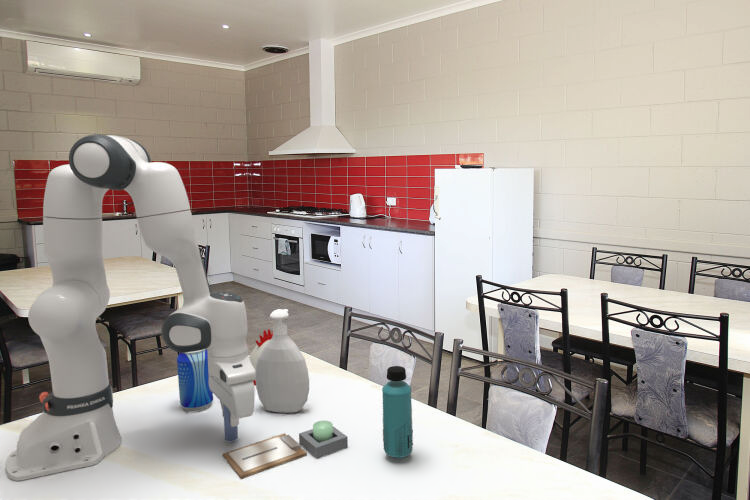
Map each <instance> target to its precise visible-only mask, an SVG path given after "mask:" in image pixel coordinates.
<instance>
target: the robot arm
mask: <svg viewBox="0 0 750 500" xmlns="http://www.w3.org/2000/svg"><path fill="white" fill-rule="evenodd" d="M181 177H182V176H181V175H180V172H179V171H178V169H177V168H176V167H175V166H173V165H172V164H170V163H168V162H162V161H153V162H152V158H151V156H150V154H149V152H148V150H147V149H146V148H145V146H144V145H142V144H140V143H139V142H138V141H136V140H134V139H130V138H127V137H124V136H121V135H116V134H108V135H107V134H103V133H102V134H101V133H93V134H89V135H86V136H84V137H81V138H79V139H78V140H77V141H75V142H74V144H73V146H71V148H70V150H69V154H68V164H62V165H59V166H57V167H55V168H53V169H51V171H50V172H49V173H48V176H47V180H46V183H45V190H44V196H43V209H42V211H43V212H42V213H43V214H42V216H43V217H42V222H43V223H42V233H43V234H42V237H43V238H42V239H43V240H42V242H43V243H42V244H43V246H42V247H43V248H42V249H43V254H44V257H45V258H46V259H47V261H48V265H49V267H50V268H49V269H50V271H51V277H52V285H51V286H50V287H49V288H47V289H45V290H44V291H42V292H40V294H39V295H38V296H37V297H36V298H35V300H34V301H33V303H32V304H31V306H30V307H29V310H28V314H27V315H28V316H27V319H28V323H29V326H30V327H31V329H32V331H33V332H34V333H35V334H36V335H37V336H39V338H40V340H41V343H42V345H43V347H44V350H45V353H46V356H47V360H48V364H49V370H50V371H49V372H50V380H51V387H52V392H51V393H49V391H43V392H41V393H40V395H39V397H38V398H39V402H40V403H42V408H43V412H42V413H41V414H39V415H38V416H37V417H36V418H35V419H34V420H33V421H32V422H30V423H29V424H28V425H27V426H26V427H24V428H23V429H22V431H21V433H20V434H19V436H18V440H17V445H16V449H15V450H13V451H12V452H11V453H10V454H9V455H8V456H7V458H6V461H5V473H6V476H7V477H8V478H9V479H10V480H14V481H17V482H18V481H24V480H25V481H26V480H29V479H33V478H38V477H39V478H40V477H43V476H47V475H54V474H57V473H62V472H67V471H70V470H76V469H80V468H81V469H82V468H85V467H90V466H95V465H97V464H99V463H100V462H101V461H102V459H104V458H105V456H107V455H108V454H110V453H112V452H114V451H115V450H116V449H117V448H118V447H119V446H120V445H121V443H122V442H123V437H122V434H120V431H119V428H118V426H117V423H116V417H115V414H114V409H113V407H114V395H113V394H114V393H113V387H112V384H111V382H110V381H109V373H108V372H109V371H108V361H107V352H106V351H107V350H106V349H105V348H104V346H103V345H102V343H101V339H100V338H99V335H98V331H97V326H96V321H97V319H98V318H99V317H100V316H101V315H102V314H103V313H104V312H105V311H106V308H107V307H108V304H109V301H110V297H111V291H110V287H109V285H108V282H107V275H106V270H105V265H104V259H103V201H104V196H105V194H106V193H107V192H108V191H109V190H111V191H124V192H126V193H128V194H129V196H130V197H131V200H132V202H133V206H134V209H135V214H136V220H137V225H138V229H139V232H140V236H141V238H142V240H143V242H144V244H145V246H146V247H147V248H148V249H149V250H150V251H152V252H154V253H155V254H157V255H160V256H163V257H164V258H166V259H167V260H169V261H170V263H172V265H173V267H174V269H175V271H176V274H177V278H178V281H179V284H180V289H181V292H182V296H183V303H182V306H181V307H180V308H178V309H176V310H175V311H173V312H172V313H171V314H169V315H168V316H167V317H166V318H165V319H164V321H163V322H162V324H161V325H162V326H161V330H160V331H161V333H160V334H161V337H162V340H163V342H164V344H165V345H166V346H167V347H168V348H169V349H170V350H171V351H174V352H177V353H186V352H193V351H199V350H203V349H206V350H207V351H208V373H209V388H210V391H212V393H213V396H215V398H217V399H218V400H219V403H220V409H221V414H222V418H224V411H223V404H224V405H225V406H226V407H227V408H228V409H229V410H230V413H231V414H230V417H229V424H230V425H231V426H232V427H234V426H237V425H238V426H239V425H240V419H244V418H247V417H251V416H252V415H253V413H254V411H255V402H256V401H255V399H256V398H255V397H256V396H255V395H256V394H255V391H256V390H255V385H254V383H253V379H256V371H255V369H254V367H253V366H252V364H251V362H250V358H249V357H250V355H249V347H248V344H247V334H248V317H247V316H248V315H247V309H246V305H245V300H243V298H242V297H241V296H240V295H239V294H237V293H234V292H230V291H213V292H212V289H211V285H210V282H209V278H208V275H207V271H206V268H205V264H204V260H203V257H202V253H201V250H200V248H199V243H198V239H197V236H196V231H195V226H194V219H193V215H192V211H191V207H190V200H189V196H188V194H187V190H186V187H185V185H184V182H183V180H182V178H181Z"/></svg>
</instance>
